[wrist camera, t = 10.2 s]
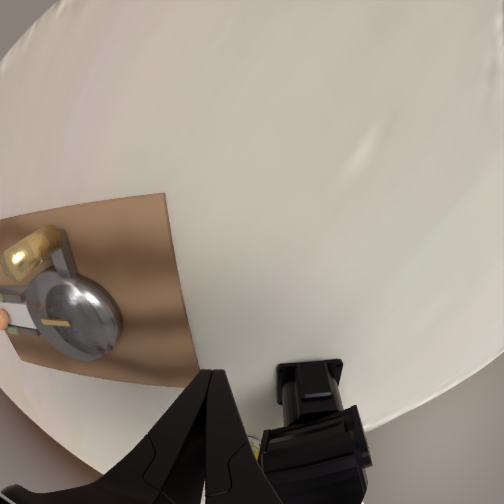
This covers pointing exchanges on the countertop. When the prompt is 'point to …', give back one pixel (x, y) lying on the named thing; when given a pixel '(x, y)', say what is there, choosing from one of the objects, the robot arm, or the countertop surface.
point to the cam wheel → (63, 296)
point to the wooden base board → (115, 289)
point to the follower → (15, 315)
